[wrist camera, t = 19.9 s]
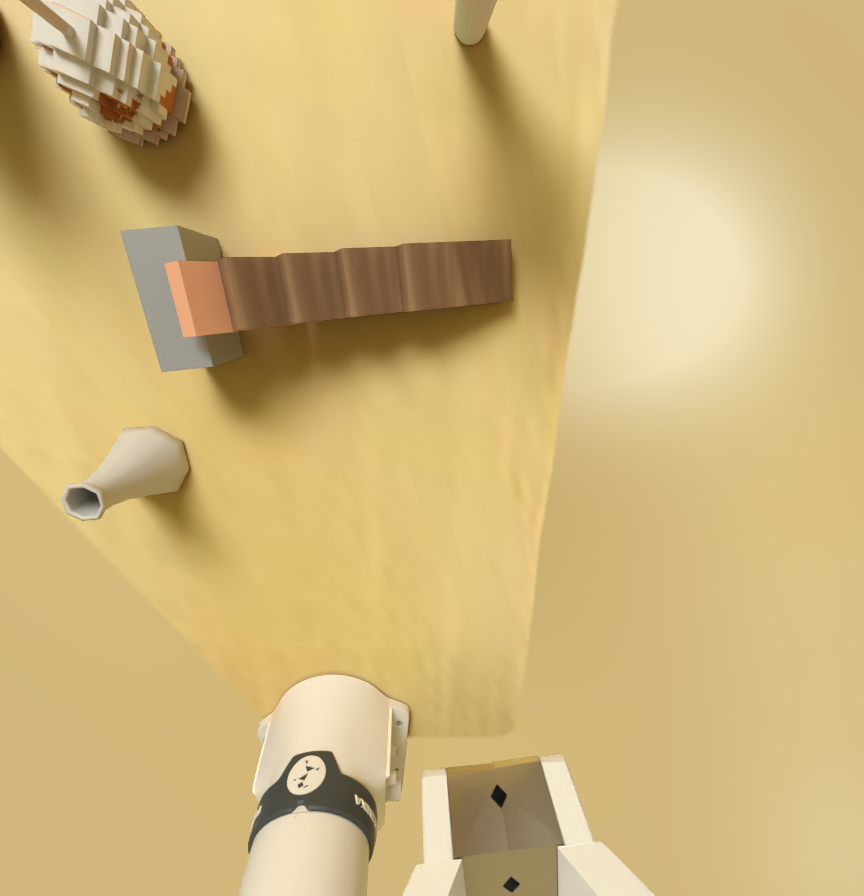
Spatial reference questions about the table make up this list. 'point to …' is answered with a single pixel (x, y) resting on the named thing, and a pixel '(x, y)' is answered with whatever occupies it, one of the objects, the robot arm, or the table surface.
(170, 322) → the end block
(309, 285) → the domino
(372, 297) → the domino
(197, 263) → the domino
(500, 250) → the domino
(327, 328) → the table surface
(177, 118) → the decorative ornament
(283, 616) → the table surface
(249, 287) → the domino
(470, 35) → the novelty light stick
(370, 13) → the table surface
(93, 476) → the flask
